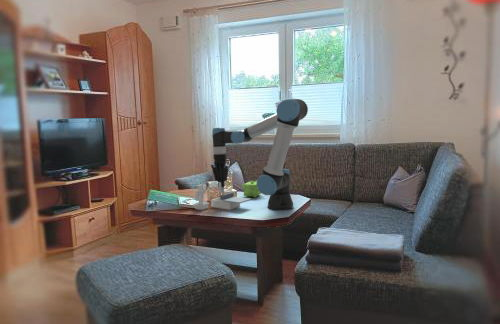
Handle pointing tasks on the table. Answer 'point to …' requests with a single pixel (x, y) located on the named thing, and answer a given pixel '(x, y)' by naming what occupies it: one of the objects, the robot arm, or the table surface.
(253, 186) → the green lumpy block
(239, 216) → the table surface
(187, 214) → the table surface
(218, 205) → the mailer box
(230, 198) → the lid
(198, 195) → the figurine
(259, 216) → the table surface
